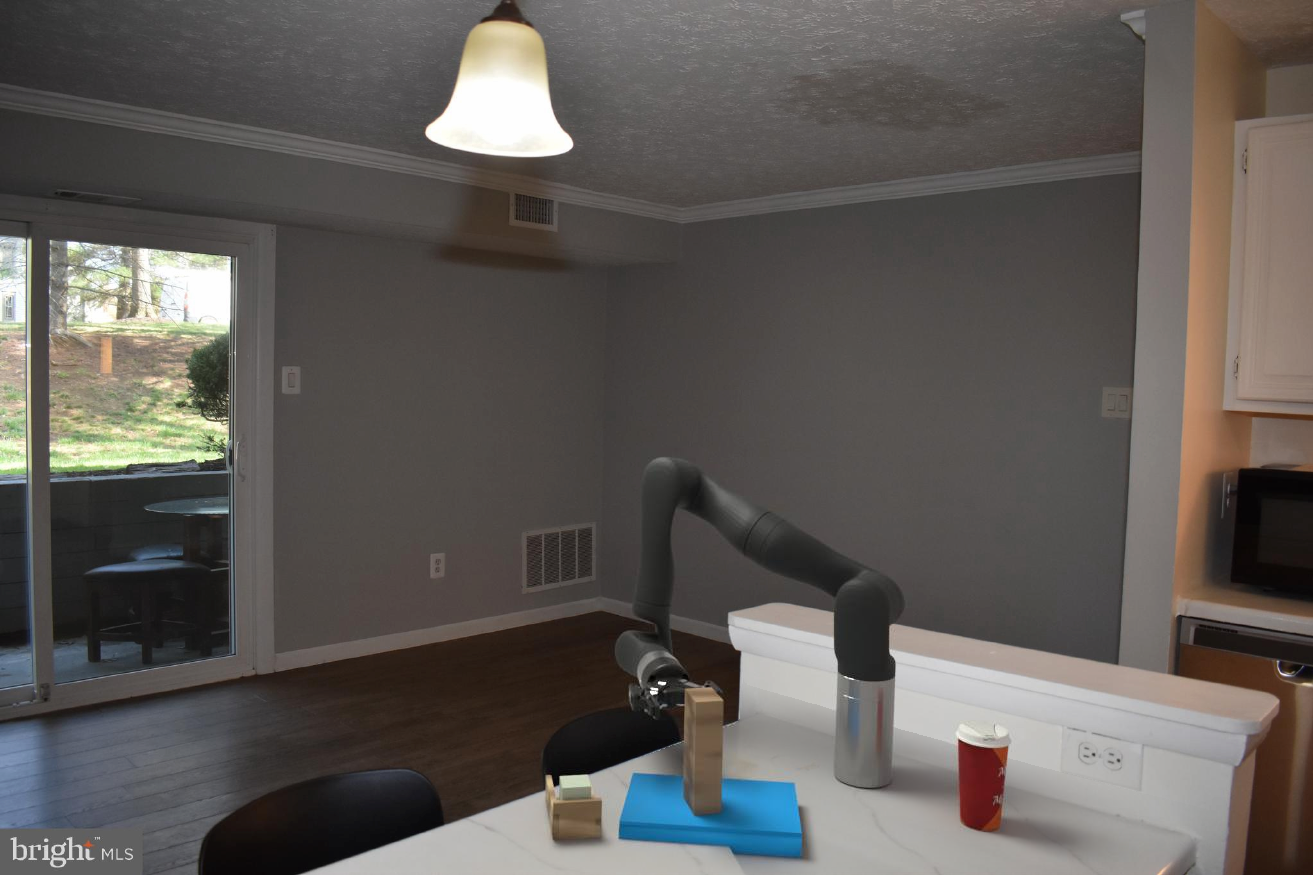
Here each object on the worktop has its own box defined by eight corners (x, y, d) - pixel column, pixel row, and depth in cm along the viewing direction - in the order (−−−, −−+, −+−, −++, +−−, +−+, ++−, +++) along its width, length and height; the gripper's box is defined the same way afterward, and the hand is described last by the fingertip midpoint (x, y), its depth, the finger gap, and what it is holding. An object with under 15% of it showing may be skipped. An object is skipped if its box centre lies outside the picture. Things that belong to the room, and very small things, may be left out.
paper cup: (1015, 835, 132) (1019, 739, 131) (961, 833, 132) (965, 737, 131) (996, 810, 140) (1000, 720, 139) (945, 809, 140) (949, 718, 139)
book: (631, 772, 143) (794, 779, 141) (631, 799, 143) (794, 807, 141) (618, 823, 126) (803, 831, 124) (617, 854, 126) (802, 863, 124)
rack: (545, 804, 138) (546, 765, 138) (589, 801, 139) (589, 762, 139) (552, 846, 125) (553, 803, 125) (600, 843, 126) (601, 800, 126)
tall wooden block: (682, 797, 134) (684, 688, 134) (709, 794, 135) (711, 687, 135) (693, 815, 128) (695, 702, 128) (721, 812, 129) (723, 700, 129)
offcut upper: (559, 796, 130) (559, 776, 130) (587, 795, 131) (587, 774, 131) (561, 809, 126) (562, 788, 126) (590, 807, 127) (591, 786, 127)
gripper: (621, 657, 152) (639, 688, 136) (704, 654, 155) (732, 684, 139) (620, 702, 152) (638, 738, 137) (703, 698, 155) (730, 733, 139)
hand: (685, 711), depth 138 cm, fingers open, 8 cm apart
